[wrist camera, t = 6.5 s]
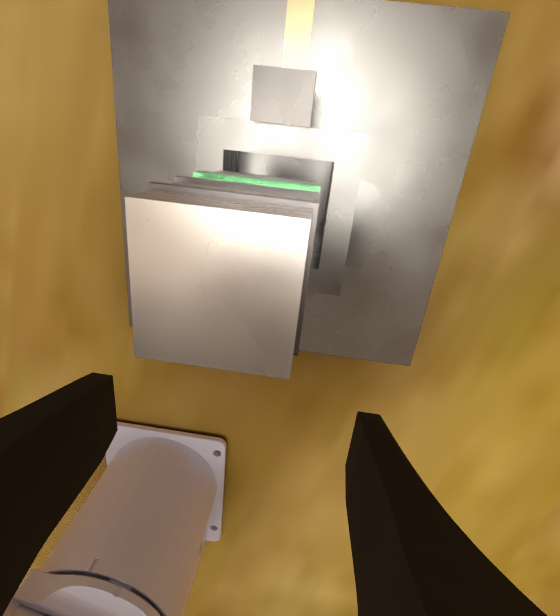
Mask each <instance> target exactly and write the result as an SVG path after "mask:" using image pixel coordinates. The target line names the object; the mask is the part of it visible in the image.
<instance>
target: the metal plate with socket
mask: <svg viewBox="0 0 560 616" xmlns="http://www.w3.org/2000/svg"><path fill="white" fill-rule="evenodd" d="M108 9H109V24H110V39H111V54H112V69H113V83H114V98H115V113H116V128H117V143H118V158H119V173H120V188H121V203H122V218H123V232H124V247H125V262H126V277H127V292H128V307H129V322H130V326H131V327H133V321H132V305H131V290H130V274H129V258H128V242H127V227H126V211H125V196H129V195H133V194H136V193H140V192H143V191H147V183H148V182H160V183H169V184H172V183H174V176H186V177H193V172H195V171H199V170H202V171H210V172H215V171H219V170H224V171H233V172H241V173H250V174H259V175H267V176H276V177H284V178H293V179H301V180H310V181H317V184H321V187H320V197H319V208H318V215H317V222H316V230H315V237H314V244H313V251H312V258H311V265H310V272H309V280H308V287H307V294H306V301H305V308H304V315H303V322H302V330H301V337H300V344H299V350H300V351H307V352H314V353H321V354H328V355H335V356H342V357H349V358H356V359H363V360H370V361H377V362H384V363H391V364H398V365H405V366H410V364H411V360H412V357H413V353H414V350H415V346H416V343H417V339H418V336H419V332H420V329H421V325H422V322H423V318H424V315H425V311H426V307H427V304H428V300H429V297H430V293H431V290H432V286H433V283H434V279H435V276H436V272H437V269H438V265H439V262H440V258H441V255H442V251H443V247H444V244H445V240H446V237H447V233H448V230H449V226H450V223H451V219H452V216H453V212H454V209H455V205H456V202H457V198H458V195H459V191H460V188H461V184H462V180H463V177H464V173H465V170H466V166H467V163H468V159H469V156H470V152H471V149H472V145H473V142H474V138H475V135H476V131H477V128H478V124H479V120H480V117H481V113H482V110H483V106H484V103H485V99H486V96H487V92H488V89H489V85H490V82H491V78H492V75H493V71H494V68H495V64H496V60H497V57H498V53H499V50H500V46H501V43H502V39H503V36H504V32H505V29H506V25H507V22H508V18H509V15H510V12H506V11H495V10H484V9H473V8H462V7H451V6H439V5H428V4H417V3H406V2H395V1H384V0H108Z"/></svg>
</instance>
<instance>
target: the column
mask: <svg viewBox="0 0 560 616" xmlns="http://www.w3.org/2000/svg"><path fill="white" fill-rule="evenodd" d="M320 187H321V184H317V181H310V180H301V179H293V178H284V177H276V176H267V175H259V174H250V173H241V172H233V171H224V170H219V171H215V172H210V171H202V170H199V171H195V172H193V177H186V176H174V183H172V184H169V183H160V182H148V183H147V191H143V192H140V193H136V194H133V195H129V196H125V211H126V227H127V242H128V258H129V274H130V290H131V305H132V321H133V337H134V353H135V357H138V358H145V359H151V360H158V361H165V362H172V363H179V364H185V365H192V366H199V367H206V368H213V369H219V370H226V371H233V372H240V373H247V374H253V375H260V376H267V377H274V378H281V379H288V380H290V373H291V367H292V360H293V355H297V356H298V351H299V344H300V337H301V330H302V322H303V315H304V308H305V301H306V294H307V287H308V280H309V272H310V265H311V258H312V251H313V244H314V237H315V230H316V222H317V215H318V208H319V197H320Z"/></svg>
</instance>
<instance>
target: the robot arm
mask: <svg viewBox="0 0 560 616" xmlns="http://www.w3.org/2000/svg"><path fill="white" fill-rule="evenodd" d="M216 450H218V451H220V452H217V451H216ZM105 454H106V462H107V469H106V470H105V472H104V473H103V475H102V476H101V478H100V479H99V481H98V482H97V484H96V485H95V487H94V488H93V490H92V491H91V493H90V494H89V496H88V497H87V499H86V500H85V502H84V503H83V505H82V506H81V508H80V509H79V511H78V512H77V514H76V515H75V517H74V518H73V520H72V521H71V523H70V524H69V526H68V527H67V529H66V530H65V532H64V533H63V535H62V536H61V538H60V539H59V541H58V542H57V544H56V545H55V547H54V548H53V550H52V551H51V553H50V554H49V556H48V557H47V559H46V560H45V562H44V563H43V565H42V566H41V568H40V569H39V570H37V569H32V570H31V572H30V573H29V575H28V576H27V578H26V579H25V581H24V582H23V584H22V585H21V587H20V588H19V590H18V591H17V593H16V594H15V592H16V590H17V589H18V587H19V585H20V584H21V582H22V580H23V578H24V577H25V575H26V573H27V572H28V570H29V568H30V566H31V565H32V563H33V561H34V559H35V558H36V556H37V554H38V553H39V551H40V549H41V548H42V546H43V545H44V543H45V542H46V540H47V539H48V537H49V536H50V534H51V533H52V531H53V530H54V528H55V527H56V526H57V524H58V523H59V521H60V520H61V519H62V517H63V516H64V514H65V513H66V511H67V510H68V509H69V507H70V506H71V504H72V503H73V502H74V500H75V499H76V497H77V496H78V494H79V493H80V492H81V490H82V489H83V487H84V486H85V484H86V483H87V482H88V480H89V479H90V477H91V476H92V474H93V473H94V471H95V470H96V469H97V467H98V466H99V464H100V463H101V461H102V459H103V457H104V456H105ZM225 463H226V442H225V440H224V439H222V438H219V437H212V436H206V435H200V434H193V433H187V432H181V431H174V430H168V429H161V428H155V427H149V426H142V425H136V424H130V423H123V422H117V417H116V406H115V396H114V385H113V376H112V375H106V374H99V373H91V374H88V375H86V376H84V377H82V378H80V379H78V380H76V381H74V382H72V383H70V384H68V385H66V386H64V387H62V388H60V389H58V390H56V391H54V392H52V393H50V394H48V395H47V396H45V397H43V398H41V399H39V400H37V401H35V402H33V403H31V404H29V405H27V406H25V407H23V408H21V409H19V410H17V411H15V412H13V413H11V414H8V415H6V416H4V417H2V418H0V616H183V614H184V611H185V608H186V604H187V601H188V597H189V594H190V591H191V587H192V584H193V581H194V577H195V574H196V571H197V567H198V564H199V561H200V557H201V554H202V550H203V547H204V544H205V540H208V541H214V542H216V541H219V540H220V537H221V532H222V515H223V497H224V480H225ZM346 507H347V516H348V524H349V533H350V541H351V549H352V557H353V565H354V574H355V582H356V591H357V603H358V616H547V615H546V614H545V613H544V612H542V611H541V610H540V609H539V608H538V607H537V606H536V605H535V604H534V603H533V602H532V601H530V600H529V599H528V598H527V597H526V596H525V595H524V594H523V593H522V592H521V591H520V590H519V589H518V588H517V587H516V586H515V585H514V584H513V583H512V582H511V581H510V580H509V579H508V578H507V577H506V576H505V575H504V574H503V573H502V572H501V571H500V570H499V569H498V568H497V567H496V566H495V565H494V564H493V563H492V562H491V561H490V560H489V559H488V558H487V557H486V556H485V555H484V554H483V553H482V552H481V551H480V550H479V549H478V548H477V547H476V546H475V545H474V543H473V542H472V541H471V540H470V539H469V538H468V537H467V535H466V534H465V533H464V532H463V531H462V530H461V529H460V528H459V526H458V525H457V524H456V523H455V522H454V521H453V520H452V518H451V517H450V516H449V515H448V513H447V512H446V511H445V510H444V508H443V507H442V506H441V505H440V503H439V502H438V501H437V499H436V498H435V497H434V495H433V494H432V493H431V492H430V490H429V489H428V487H427V486H426V485H425V483H424V482H423V481H422V479H421V478H420V476H419V475H418V473H417V472H416V471H415V469H414V468H413V466H412V465H411V463H410V462H409V460H408V459H407V457H406V456H405V454H404V453H403V451H402V450H401V448H400V447H399V445H398V443H397V442H396V440H395V439H394V437H393V435H392V434H391V432H390V430H389V429H388V427H387V426H386V424H385V422H384V421H383V419H382V417H381V416H380V415H379V414H372V413H365V412H357V417H356V421H355V426H354V430H353V434H352V439H351V443H350V448H349V452H348V457H347V461H346ZM14 594H15V595H14Z"/></svg>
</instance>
